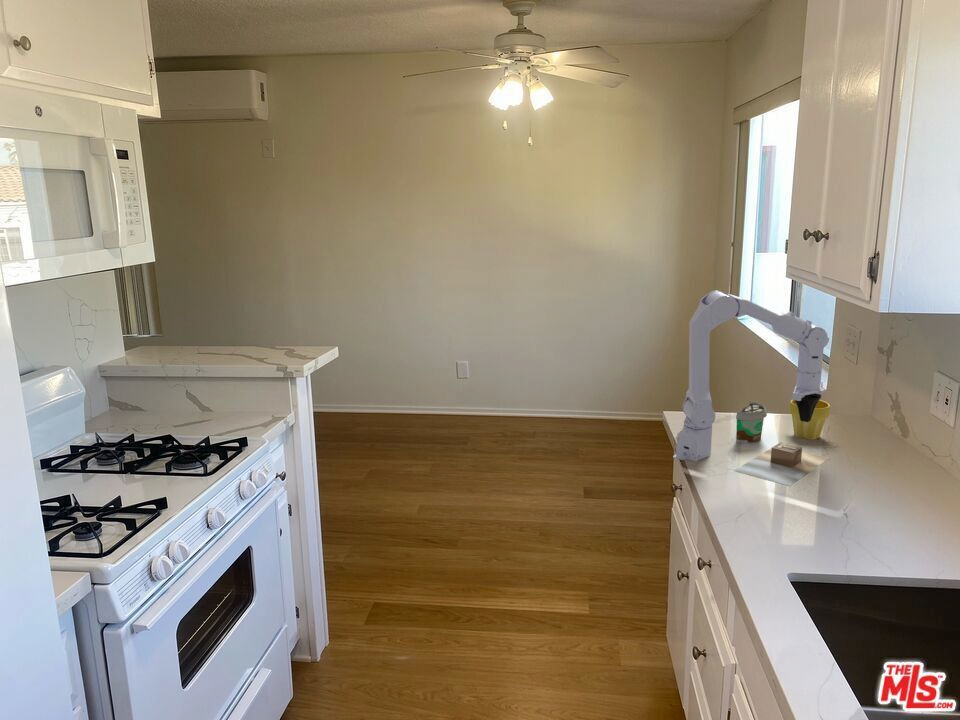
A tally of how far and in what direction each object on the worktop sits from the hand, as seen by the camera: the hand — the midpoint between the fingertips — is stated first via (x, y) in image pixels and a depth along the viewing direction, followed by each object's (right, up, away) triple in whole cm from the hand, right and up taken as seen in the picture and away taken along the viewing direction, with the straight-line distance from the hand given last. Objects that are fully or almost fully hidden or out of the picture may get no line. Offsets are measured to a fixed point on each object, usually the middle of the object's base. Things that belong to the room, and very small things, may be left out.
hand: (805, 420), depth 189 cm
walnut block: (-7, -10, -5) cm, 13 cm away
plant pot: (+8, -6, +16) cm, 19 cm away
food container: (-9, -7, +13) cm, 17 cm away
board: (-9, -11, -6) cm, 16 cm away
